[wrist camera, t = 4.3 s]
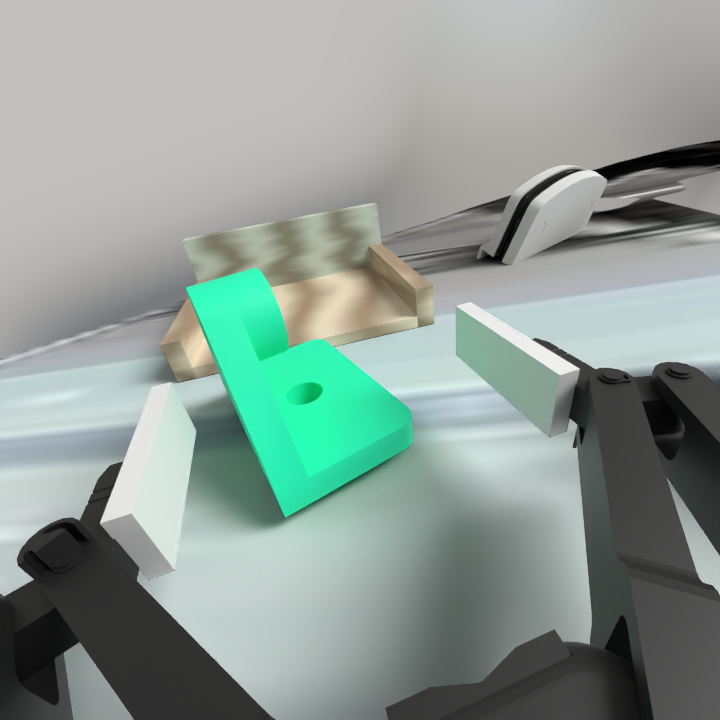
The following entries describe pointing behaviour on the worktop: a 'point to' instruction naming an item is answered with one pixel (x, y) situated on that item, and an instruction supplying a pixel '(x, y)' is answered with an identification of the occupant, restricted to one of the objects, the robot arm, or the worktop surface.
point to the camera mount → (295, 394)
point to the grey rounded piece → (545, 212)
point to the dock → (307, 282)
